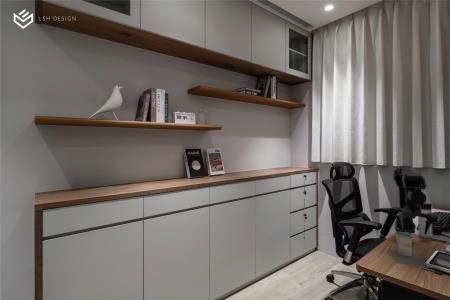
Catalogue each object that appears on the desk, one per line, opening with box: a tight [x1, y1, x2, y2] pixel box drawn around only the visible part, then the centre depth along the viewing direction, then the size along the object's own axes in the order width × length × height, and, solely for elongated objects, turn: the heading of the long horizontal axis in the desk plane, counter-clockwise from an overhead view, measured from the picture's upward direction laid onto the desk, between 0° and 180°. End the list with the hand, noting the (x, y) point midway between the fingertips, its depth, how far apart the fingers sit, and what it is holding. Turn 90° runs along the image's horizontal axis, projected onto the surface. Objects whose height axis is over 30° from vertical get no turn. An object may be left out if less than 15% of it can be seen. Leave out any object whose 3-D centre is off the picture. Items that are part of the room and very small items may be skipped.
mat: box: [388, 249, 430, 269], centre depth 115 cm, size 16×12×1 cm
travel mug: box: [417, 203, 433, 239], centre depth 144 cm, size 6×7×20 cm
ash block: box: [396, 232, 413, 257], centre depth 120 cm, size 5×5×10 cm
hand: (413, 231), depth 115 cm, fingers open, 9 cm apart
